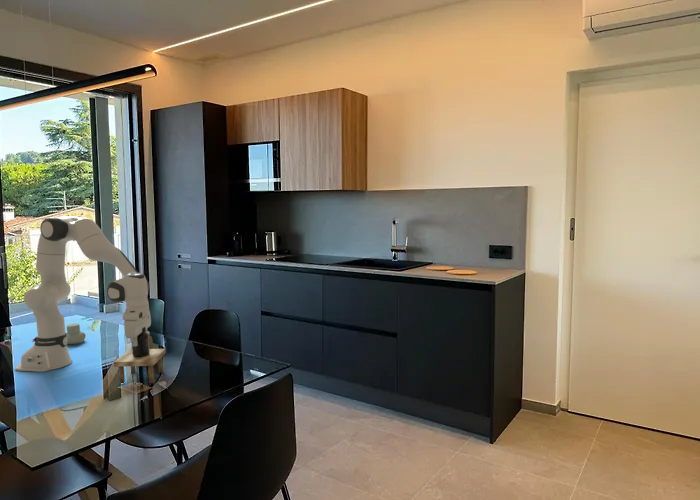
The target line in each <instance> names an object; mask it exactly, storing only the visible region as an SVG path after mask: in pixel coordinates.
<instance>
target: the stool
mask: <svg viewBox="0 0 700 500" xmlns="http://www.w3.org/2000/svg"><path fill="white" fill-rule="evenodd" d="M166 354H167V351H166V348H154V349H150V353H149V355H147V356H144V357H134V356H133V354H132V349H130V348H129V349H128V350H126V351H125V352H124V353H123V354H121V356H119V357H118V358H117V359H116V360H114V362H113V366H114V368H115V367H117V368H118V378H119V384H120V383H124V382H125V383H126V376H125V367H129V368H130V374H136V373H135V372H137V370H136V369H137V368H136V367H147V373H148V377H147V378H148V384H154V382H155V378H154V377H155V376H154V375H155V374H154V366H155V364H157V373H159V374H160V373H162V374H163V373H164V366H163V365H164V364H163V363H164V362H163V360H164V359H163V357H164V355H166ZM125 383H124V384H125Z"/></svg>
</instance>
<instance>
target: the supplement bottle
mask: <svg viewBox="0 0 700 500" xmlns="http://www.w3.org/2000/svg"><path fill="white" fill-rule="evenodd" d="M137 341H138V346H133V342H132V341H131V348H132V354H133V356H134V357H144V356H147V355H149V353H150V349H149V335H148V334H147V333H146V327H144V328H142V333H141V334H139V335H138V336H137Z"/></svg>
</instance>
